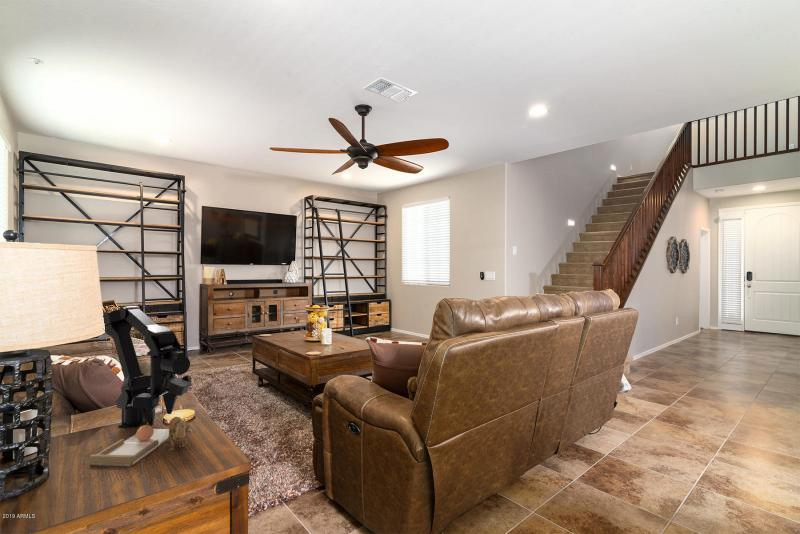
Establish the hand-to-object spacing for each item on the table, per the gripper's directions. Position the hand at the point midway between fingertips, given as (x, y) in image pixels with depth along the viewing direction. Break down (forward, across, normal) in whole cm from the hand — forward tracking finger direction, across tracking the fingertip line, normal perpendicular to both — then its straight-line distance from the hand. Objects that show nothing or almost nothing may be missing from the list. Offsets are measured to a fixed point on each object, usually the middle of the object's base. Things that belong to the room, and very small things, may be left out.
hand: (160, 419), depth 126 cm
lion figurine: (+4, -8, -10) cm, 13 cm away
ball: (+1, -7, 0) cm, 7 cm away
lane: (+4, -10, 0) cm, 11 cm away
